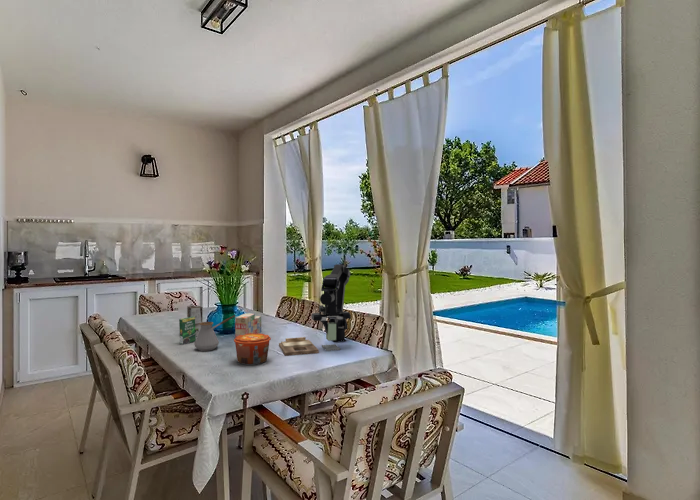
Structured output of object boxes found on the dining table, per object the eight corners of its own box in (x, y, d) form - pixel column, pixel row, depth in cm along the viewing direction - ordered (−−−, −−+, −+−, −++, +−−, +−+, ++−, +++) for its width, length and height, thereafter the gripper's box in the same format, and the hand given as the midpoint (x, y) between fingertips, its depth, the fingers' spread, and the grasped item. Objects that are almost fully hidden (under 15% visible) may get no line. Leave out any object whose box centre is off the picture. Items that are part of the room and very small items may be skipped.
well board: (309, 343, 221) (309, 340, 221) (318, 353, 203) (318, 349, 203) (278, 346, 216) (278, 343, 216) (285, 355, 198) (285, 352, 198)
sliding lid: (308, 341, 220) (308, 336, 220) (312, 345, 211) (312, 340, 211) (281, 343, 215) (281, 338, 215) (284, 347, 207) (284, 342, 207)
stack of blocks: (251, 331, 250) (251, 310, 250) (261, 331, 249) (261, 310, 248) (235, 340, 229) (235, 317, 228) (246, 340, 228) (246, 317, 227)
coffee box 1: (203, 336, 237) (202, 307, 237) (191, 337, 234) (190, 308, 233) (198, 333, 245) (198, 304, 244) (186, 334, 241) (186, 305, 241)
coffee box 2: (182, 344, 218) (182, 319, 218) (179, 344, 220) (178, 318, 219) (196, 341, 225) (195, 316, 224) (192, 340, 226) (192, 316, 226)
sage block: (333, 338, 215) (333, 322, 214) (336, 340, 211) (336, 323, 210) (326, 338, 213) (326, 322, 213) (328, 340, 209) (328, 324, 209)
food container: (276, 357, 196) (276, 333, 196) (261, 367, 181) (261, 342, 181) (244, 354, 200) (244, 332, 200) (227, 364, 185) (227, 340, 184)
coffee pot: (199, 353, 202) (199, 321, 202) (190, 348, 211) (190, 318, 210) (241, 346, 216) (241, 316, 216) (231, 341, 225) (231, 313, 224)
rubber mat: (335, 345, 217) (335, 344, 217) (340, 349, 209) (340, 348, 209) (321, 346, 215) (321, 345, 215) (326, 350, 207) (326, 349, 207)
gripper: (344, 298, 222) (344, 328, 223) (308, 300, 216) (309, 331, 217) (350, 301, 211) (350, 333, 212) (314, 303, 206) (314, 336, 206)
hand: (331, 333), depth 212 cm, fingers closed on sage block, 4 cm apart
